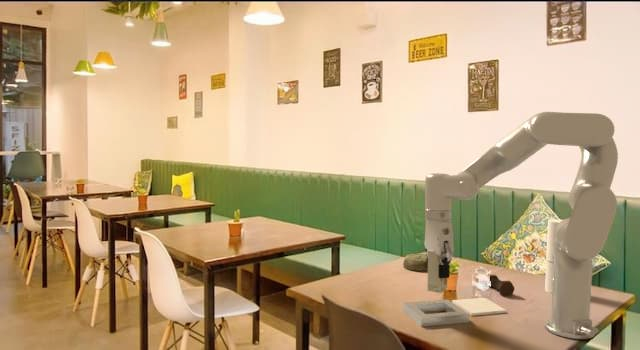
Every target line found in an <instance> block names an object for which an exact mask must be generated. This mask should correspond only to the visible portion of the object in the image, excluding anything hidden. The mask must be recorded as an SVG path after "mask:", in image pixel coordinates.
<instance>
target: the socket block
mask: <svg viewBox="0 0 640 350" xmlns="http://www.w3.org/2000/svg"><path fill="white" fill-rule="evenodd" d="M402 303H403V304H402V309H403V310H402V311H403V312H404V313H405V314H406V315H407V316H409V317H410V318H411V319H412V320H413V321H414V322H415V323H417V324H418V325H419V326H420V327H429V326H430V327H431V326H432V327H434V326H443V325H444V326H445V325H454V324H465V323H469V322H470V314H468V313H467V312H465V311H464V310H463V309H461V308H460V307H458V306H457V305H455V304H454V303H452V300H449V299H447V298H446V299H436V300H435V299H433V300H423V301H422V300H421V301H411V302H410V301H409V302H402ZM440 311H444V312H440ZM428 312H435V313H428ZM436 312H437V313H436Z"/></svg>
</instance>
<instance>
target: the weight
mask: <svg viewBox="0 0 640 350" xmlns="http://www.w3.org/2000/svg"><path fill="white" fill-rule="evenodd" d="M402 265H403V268H404V269H407V270H409V271H415V272H416V271H417V272H425V271H426V272H428V271H427V270H426V253H409V254H407V255H406V256H405V257H404V260H403V264H402Z"/></svg>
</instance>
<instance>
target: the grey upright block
mask: <svg viewBox="0 0 640 350" xmlns="http://www.w3.org/2000/svg"><path fill="white" fill-rule="evenodd" d="M441 253H442V254H445V252H441ZM444 257H445V256H444ZM444 257H442V259H444ZM439 264H440V261H439V257H438V255H436V254H435V252H434V251H432V250H429V251H428V271H427V291H428V292H433V293H437V294H438V293H439V294H442V293H443V292H444V291H446V290H447V288H448V278H439Z"/></svg>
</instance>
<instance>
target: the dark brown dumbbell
mask: <svg viewBox="0 0 640 350" xmlns="http://www.w3.org/2000/svg"><path fill="white" fill-rule="evenodd" d="M489 275H490V281H491V287H492V289H493V288H495V289H496V290H497V292H499V295H500V296H501V297H511V296H512V295H513V293H514V292H515V286H514V284H513V283H512V282H511V281H510V280H500V279H499V277H498V276H497V275H496V274H489ZM491 287H490V288H491Z"/></svg>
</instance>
